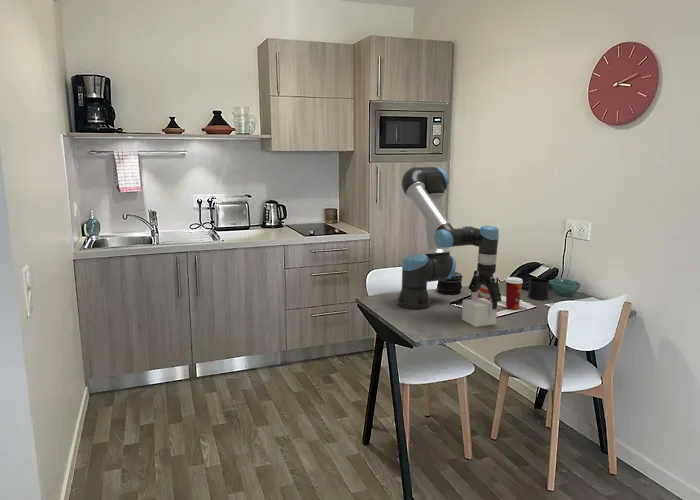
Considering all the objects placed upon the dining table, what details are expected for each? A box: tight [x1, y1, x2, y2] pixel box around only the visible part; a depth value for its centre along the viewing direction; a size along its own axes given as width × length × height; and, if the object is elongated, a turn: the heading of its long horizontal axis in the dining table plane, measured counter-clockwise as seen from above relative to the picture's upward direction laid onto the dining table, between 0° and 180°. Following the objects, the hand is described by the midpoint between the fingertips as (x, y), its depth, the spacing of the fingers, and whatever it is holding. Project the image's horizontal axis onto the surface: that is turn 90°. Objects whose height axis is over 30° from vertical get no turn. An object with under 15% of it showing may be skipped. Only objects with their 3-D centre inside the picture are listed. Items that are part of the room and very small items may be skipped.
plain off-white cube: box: [461, 298, 498, 328], centre depth 223 cm, size 10×10×9 cm
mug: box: [527, 277, 550, 301], centre depth 263 cm, size 9×12×9 cm
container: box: [436, 271, 464, 296], centre depth 271 cm, size 13×13×10 cm
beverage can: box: [476, 284, 491, 301], centre depth 257 cm, size 6×6×12 cm
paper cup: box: [505, 276, 524, 311], centre depth 244 cm, size 8×8×14 cm
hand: (482, 311), depth 225 cm, fingers open, 13 cm apart
